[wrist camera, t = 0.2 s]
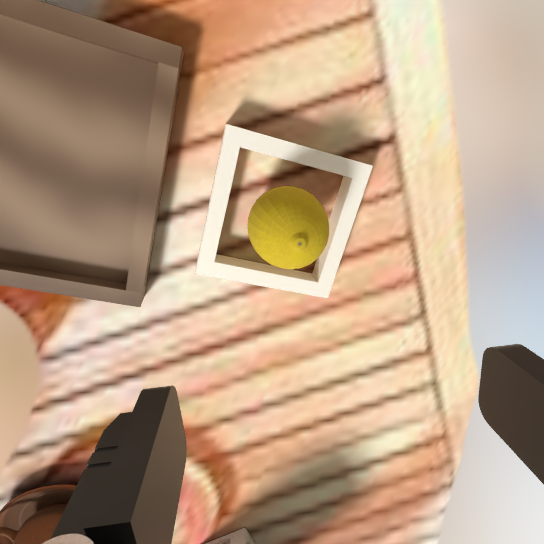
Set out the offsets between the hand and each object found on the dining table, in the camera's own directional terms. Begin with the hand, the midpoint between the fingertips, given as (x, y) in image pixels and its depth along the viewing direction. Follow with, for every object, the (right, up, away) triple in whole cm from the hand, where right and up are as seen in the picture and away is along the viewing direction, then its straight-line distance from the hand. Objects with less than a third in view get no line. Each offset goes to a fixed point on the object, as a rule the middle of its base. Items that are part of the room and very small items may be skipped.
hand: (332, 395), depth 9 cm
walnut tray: (-16, +11, +16) cm, 25 cm away
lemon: (-1, +8, +20) cm, 21 cm away
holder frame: (-1, +8, +20) cm, 21 cm away
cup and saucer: (-23, -22, +28) cm, 42 cm away
